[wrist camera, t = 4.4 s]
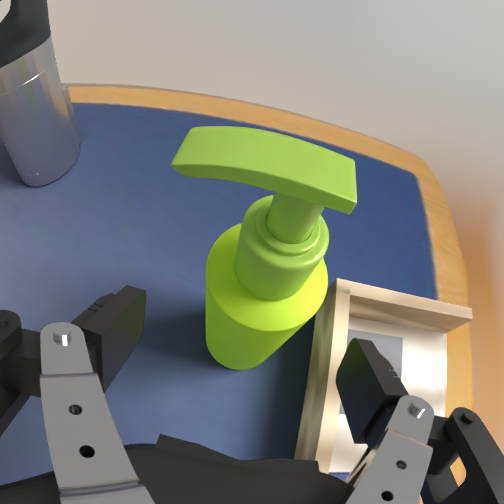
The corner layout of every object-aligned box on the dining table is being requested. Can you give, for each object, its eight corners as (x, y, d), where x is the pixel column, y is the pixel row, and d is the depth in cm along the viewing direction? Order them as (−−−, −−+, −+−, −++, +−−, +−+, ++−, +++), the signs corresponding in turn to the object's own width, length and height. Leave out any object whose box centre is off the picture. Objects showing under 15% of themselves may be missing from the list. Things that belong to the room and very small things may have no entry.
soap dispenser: (203, 295, 27) (209, 87, 10) (278, 313, 27) (390, 136, 10) (186, 357, 24) (138, 208, 7) (266, 376, 24) (414, 275, 7)
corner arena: (317, 300, 28) (337, 278, 24) (443, 324, 29) (471, 308, 24) (291, 469, 20) (310, 481, 16) (435, 463, 20) (467, 464, 16)
